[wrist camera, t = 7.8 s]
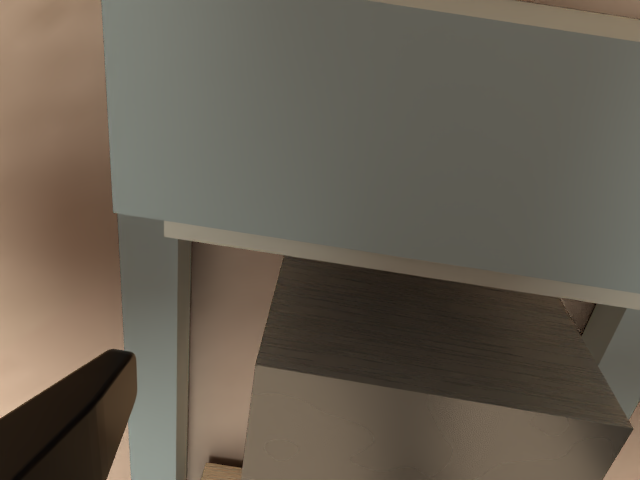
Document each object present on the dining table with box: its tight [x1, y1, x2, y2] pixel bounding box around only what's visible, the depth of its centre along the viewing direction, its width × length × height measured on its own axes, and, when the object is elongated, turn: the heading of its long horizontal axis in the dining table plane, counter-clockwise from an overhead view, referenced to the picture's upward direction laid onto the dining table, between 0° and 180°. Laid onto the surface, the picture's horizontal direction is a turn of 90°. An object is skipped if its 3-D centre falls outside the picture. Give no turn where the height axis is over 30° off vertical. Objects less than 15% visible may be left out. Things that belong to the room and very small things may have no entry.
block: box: [241, 255, 633, 480], centre depth 10 cm, size 4×4×6 cm
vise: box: [101, 0, 640, 480], centre depth 11 cm, size 18×11×5 cm, turn 173°
